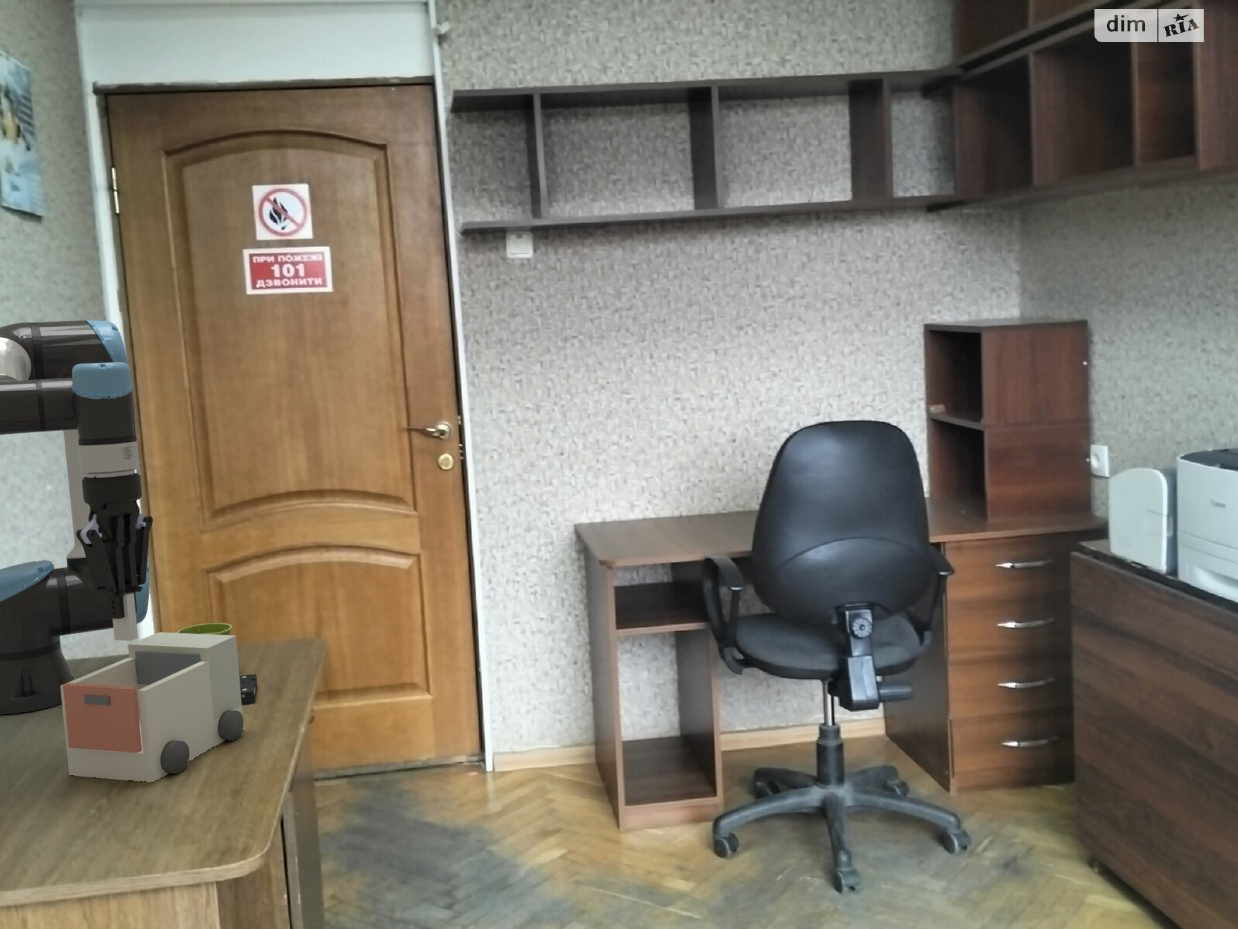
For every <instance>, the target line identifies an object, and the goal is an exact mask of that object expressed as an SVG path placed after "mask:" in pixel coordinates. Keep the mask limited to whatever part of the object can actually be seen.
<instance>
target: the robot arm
mask: <svg viewBox="0 0 1238 929" xmlns="http://www.w3.org/2000/svg"><path fill="white" fill-rule="evenodd" d="M125 348H126V347H125V344H124V341H123V338H122V335H121V332H120V330H119V328H118V327H117V325H116V324H114V323H113V322H112V321H109V320H93V319H92V320H91V319H86V320H85V319H84V320H83V319H82V320H62V321H61V320H59V321H58V320H57V321H38V322H35V321H34V322H30V321H28V322H27V321H26V322H25V321H23V322H17V323H11V324H7V325H4V326H0V436H3V435H15V434H16V435H17V434H31V433H44V432H45V433H46V432H60V431H63V439H64V440H63V441H64V449H65V452H64V453H65V459H66V460H65V462H66V470H67V479H68V490H69V501H70V512H71V520H72V529H73V539H74V541H73V543H74V544H73V545H74V546H73V548H71V550H70V551H69V552H68V554H67V555H66V557H65V558H66V566H64V567H57V568H55V565H54V564H53V562H52V561H51V560H47V559H45V560H44V559H43V560H37V561H36V560H33V561H28V562H22V563H18V564H14V565H11V566H6V567H4V568H0V715H12V714H22V713H21V712H23V713H28V712H33V711H34V712H35V711H38V710H43V709H47V708H51V707H54V706H57V705H59V704H62V698H61V688H60V686H61V685H63V684H66V683H68V682H71V681H73V680H76V678H75V676H74V675H72V674H71V670H70V667H69V665H68V663H67V660H66V658H65V655H64V653H63V652H62V646H61V645H62V644H61V637H62V636H68V635H75V634H82V633H89V632H94V631H105V630H109V629H110V630H111V629H113V637H114V641H122V642H124V641H126V642H131V641H134V640H136V639H137V640H138V638H139V636H138V634H139V633H138V625H139V624H140V623H142V622H143V621H144V620H145V619H146V616H147V613H148V608H149V601H150V588H151V587H150V586H151V585H150V583H151V582H150V581H151V580H150V578H151V576H150V563H149V562H150V561H149V559H148V557H149V540H150V532H151V530H152V526H153V524H154V518H153V517H152V516H151V515H150V516H149V515H148V516H147V515H146V516H145V515H143V514H142V513H141V508H140V506H139V505H138V501H139V500H140V499H141V498H143V497H142V496H143V489H142V477H141V474H140V473H138V472H136V471H137V470H139V468H140V460H139V451H138V450H139V449H138V442H137V440H138V438H137V437H138V436H137V430H136V416H135V415H136V414H135V412H136V411H135V402H134V401H135V400H134V388H135V387H134V382H133V380H132V374H131V373H132V372H131V367H130V366H129V360H128V355H127V352H126V349H125Z"/></svg>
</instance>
